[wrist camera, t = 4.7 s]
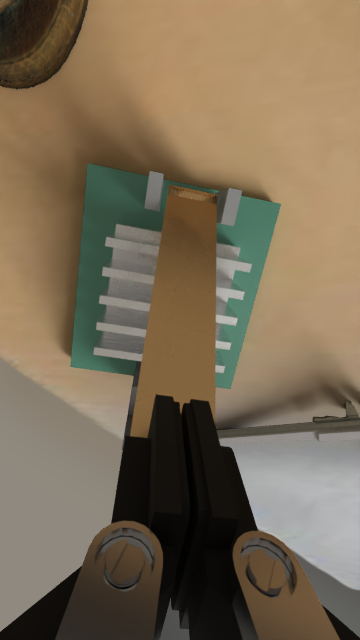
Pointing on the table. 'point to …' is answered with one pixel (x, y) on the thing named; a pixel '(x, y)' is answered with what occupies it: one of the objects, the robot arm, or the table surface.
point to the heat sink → (136, 291)
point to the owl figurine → (36, 38)
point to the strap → (181, 309)
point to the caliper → (297, 430)
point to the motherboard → (148, 212)
